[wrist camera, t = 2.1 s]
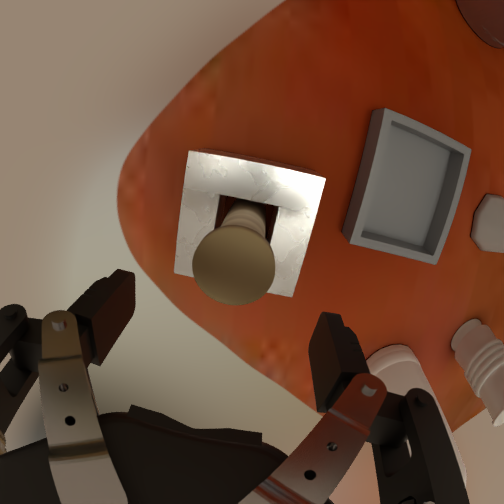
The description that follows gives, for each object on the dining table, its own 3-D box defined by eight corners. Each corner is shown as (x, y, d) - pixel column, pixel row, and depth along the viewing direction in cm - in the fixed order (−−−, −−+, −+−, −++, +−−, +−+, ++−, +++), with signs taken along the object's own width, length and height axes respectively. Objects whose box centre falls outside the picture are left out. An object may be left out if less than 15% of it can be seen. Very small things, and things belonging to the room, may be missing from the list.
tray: (372, 110, 22) (385, 107, 19) (454, 146, 22) (471, 149, 19) (341, 232, 26) (349, 243, 23) (423, 253, 26) (436, 264, 24)
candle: (442, 340, 31) (489, 420, 17) (477, 307, 29) (535, 378, 15) (455, 360, 33) (494, 431, 19) (487, 331, 30) (534, 395, 17)
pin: (228, 183, 25) (197, 221, 14) (277, 193, 25) (284, 239, 14) (220, 228, 27) (188, 295, 16) (266, 238, 27) (265, 311, 16)
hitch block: (203, 148, 24) (188, 150, 19) (314, 170, 24) (325, 178, 20) (188, 250, 28) (174, 272, 23) (288, 270, 28) (292, 297, 23)
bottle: (416, 368, 33) (481, 547, 5) (367, 391, 35) (407, 579, 7) (408, 333, 31) (496, 548, 3) (352, 360, 32) (401, 590, 5)
